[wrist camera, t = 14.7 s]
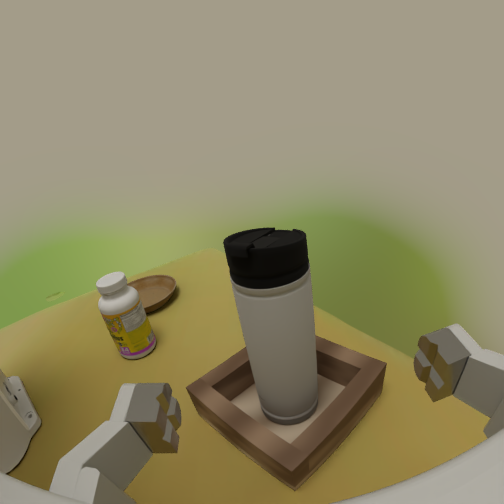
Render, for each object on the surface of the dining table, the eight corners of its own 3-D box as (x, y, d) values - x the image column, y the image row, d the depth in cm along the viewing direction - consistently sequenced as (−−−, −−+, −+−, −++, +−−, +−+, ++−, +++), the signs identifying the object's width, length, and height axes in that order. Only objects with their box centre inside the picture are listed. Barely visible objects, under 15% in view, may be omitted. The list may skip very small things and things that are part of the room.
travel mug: (248, 415, 29) (200, 243, 22) (280, 377, 34) (253, 214, 26) (298, 436, 25) (274, 252, 18) (327, 392, 30) (319, 217, 23)
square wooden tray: (198, 414, 31) (185, 387, 29) (285, 349, 40) (281, 320, 38) (295, 490, 20) (291, 471, 18) (381, 392, 29) (386, 363, 27)
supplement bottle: (115, 348, 45) (85, 282, 40) (146, 331, 49) (121, 265, 44) (130, 367, 40) (96, 294, 35) (164, 346, 44) (137, 274, 40)
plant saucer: (105, 326, 52) (100, 314, 51) (124, 290, 66) (121, 280, 65) (174, 316, 53) (170, 304, 52) (183, 280, 67) (180, 269, 66)
